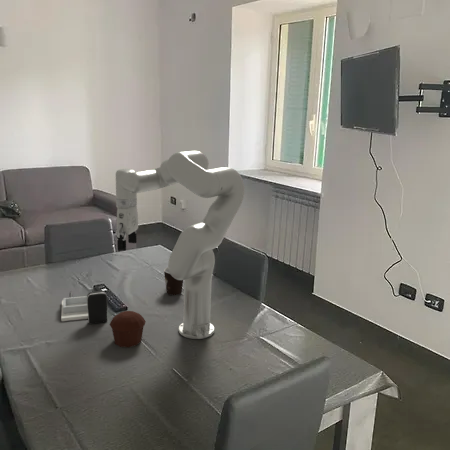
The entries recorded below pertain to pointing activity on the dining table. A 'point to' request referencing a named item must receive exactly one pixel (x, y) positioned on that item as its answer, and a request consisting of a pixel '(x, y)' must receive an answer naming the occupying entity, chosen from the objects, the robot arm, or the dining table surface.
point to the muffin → (127, 328)
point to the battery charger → (97, 307)
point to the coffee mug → (172, 284)
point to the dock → (74, 308)
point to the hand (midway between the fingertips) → (127, 246)
